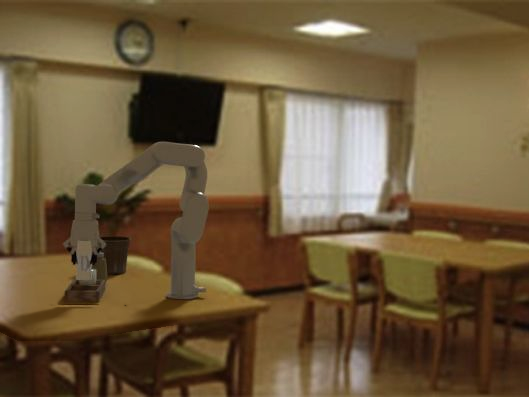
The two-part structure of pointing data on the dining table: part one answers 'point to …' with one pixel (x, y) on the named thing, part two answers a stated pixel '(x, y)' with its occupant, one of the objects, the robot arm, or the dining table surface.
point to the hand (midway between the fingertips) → (84, 264)
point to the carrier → (84, 292)
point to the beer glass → (84, 260)
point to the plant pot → (115, 253)
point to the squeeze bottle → (100, 266)
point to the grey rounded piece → (89, 282)
